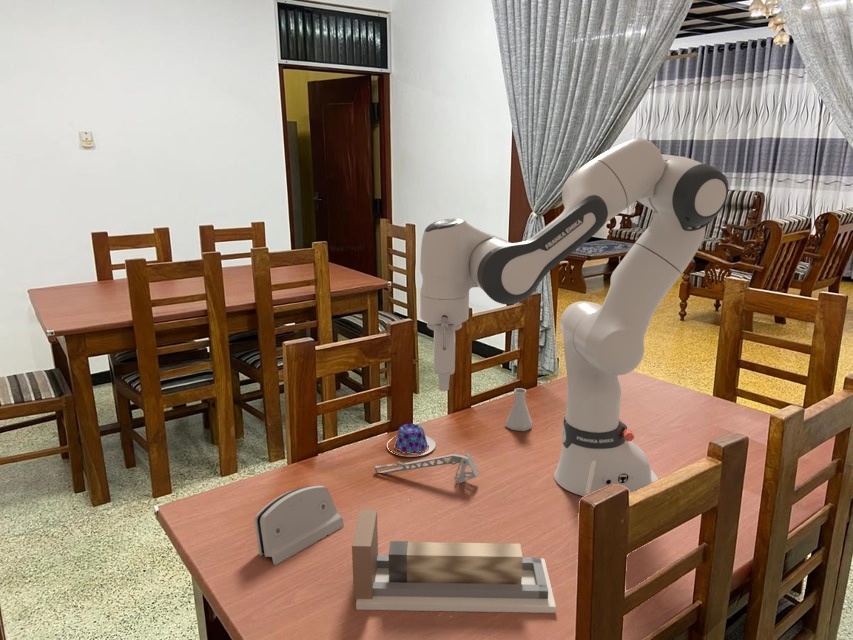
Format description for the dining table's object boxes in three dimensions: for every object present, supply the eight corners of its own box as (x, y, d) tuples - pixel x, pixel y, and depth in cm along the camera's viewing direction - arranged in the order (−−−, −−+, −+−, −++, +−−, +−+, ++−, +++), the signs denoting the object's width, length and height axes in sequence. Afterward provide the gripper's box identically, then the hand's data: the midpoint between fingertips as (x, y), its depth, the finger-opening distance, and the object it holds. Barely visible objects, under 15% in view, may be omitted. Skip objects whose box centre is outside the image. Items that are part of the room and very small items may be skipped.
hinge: (273, 566, 113) (259, 512, 112) (260, 562, 116) (245, 510, 116) (345, 525, 125) (332, 476, 124) (331, 523, 128) (318, 475, 128)
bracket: (476, 479, 137) (457, 439, 136) (392, 507, 144) (372, 470, 142) (478, 471, 140) (459, 432, 139) (395, 500, 147) (376, 463, 145)
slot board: (543, 564, 113) (547, 509, 110) (555, 612, 102) (559, 553, 99) (362, 561, 114) (360, 506, 111) (353, 609, 103) (350, 550, 99)
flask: (537, 424, 168) (538, 388, 165) (525, 434, 162) (527, 398, 159) (512, 417, 172) (513, 383, 169) (500, 427, 166) (501, 392, 163)
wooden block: (518, 573, 109) (520, 542, 107) (521, 587, 106) (522, 556, 104) (390, 571, 110) (390, 541, 108) (389, 585, 106) (388, 554, 104)
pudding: (391, 462, 149) (390, 441, 148) (383, 439, 160) (382, 420, 159) (440, 456, 152) (441, 436, 150) (429, 434, 163) (429, 415, 161)
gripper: (463, 325, 106) (462, 402, 110) (460, 295, 126) (459, 361, 129) (425, 325, 106) (425, 401, 110) (428, 295, 126) (428, 361, 130)
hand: (443, 379), depth 120 cm, fingers open, 8 cm apart
